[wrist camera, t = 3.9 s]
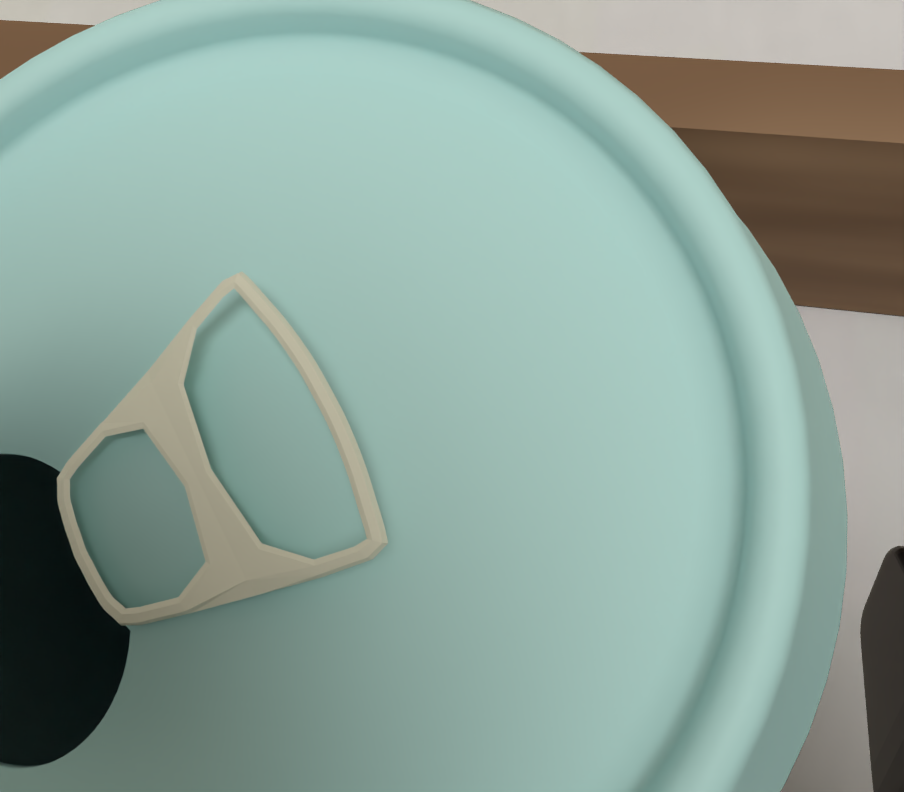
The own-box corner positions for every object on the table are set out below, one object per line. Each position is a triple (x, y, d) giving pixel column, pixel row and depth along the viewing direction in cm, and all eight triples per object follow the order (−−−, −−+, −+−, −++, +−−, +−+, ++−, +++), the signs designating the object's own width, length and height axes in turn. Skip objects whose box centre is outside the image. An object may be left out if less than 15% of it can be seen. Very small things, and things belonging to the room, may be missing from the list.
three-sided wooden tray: (1209, 1158, 12) (1768, 1664, 7) (-168, 807, 17) (-569, 925, 11) (1198, 293, 15) (1589, 108, 9) (13, 182, 19) (-230, 7, 13)
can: (591, 819, 15) (637, 1725, 3) (244, 649, 16) (-613, 809, 5) (728, 447, 16) (1159, 44, 4) (390, 321, 17) (-1, -232, 6)
